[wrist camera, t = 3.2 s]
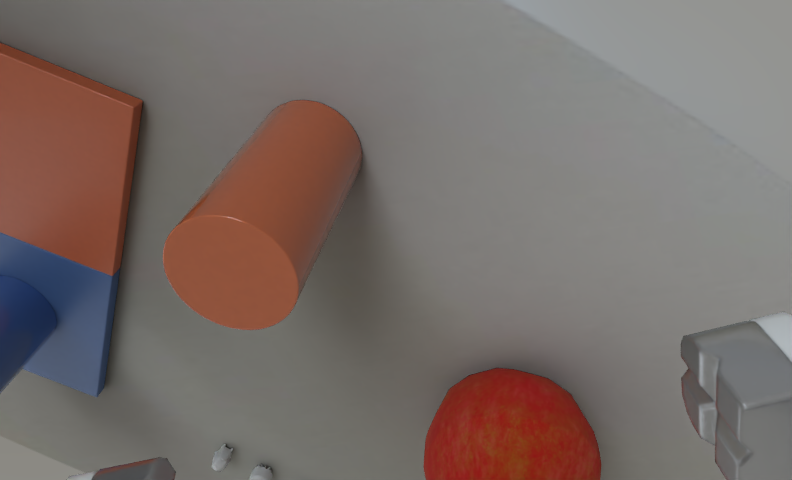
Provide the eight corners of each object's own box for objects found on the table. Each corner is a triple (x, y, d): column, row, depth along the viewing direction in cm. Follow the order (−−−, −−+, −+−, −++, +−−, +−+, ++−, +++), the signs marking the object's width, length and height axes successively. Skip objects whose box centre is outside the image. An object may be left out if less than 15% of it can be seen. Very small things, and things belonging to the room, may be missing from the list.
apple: (613, 456, 44) (628, 620, 35) (460, 469, 47) (440, 622, 39) (577, 336, 39) (585, 493, 31) (409, 361, 43) (374, 508, 34)
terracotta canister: (272, 82, 34) (173, 193, 25) (376, 125, 34) (314, 250, 25) (249, 172, 37) (153, 299, 28) (344, 210, 37) (279, 349, 28)
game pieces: (320, 485, 51) (312, 507, 50) (308, 498, 53) (301, 520, 51) (224, 436, 50) (213, 457, 49) (214, 450, 51) (203, 472, 50)
